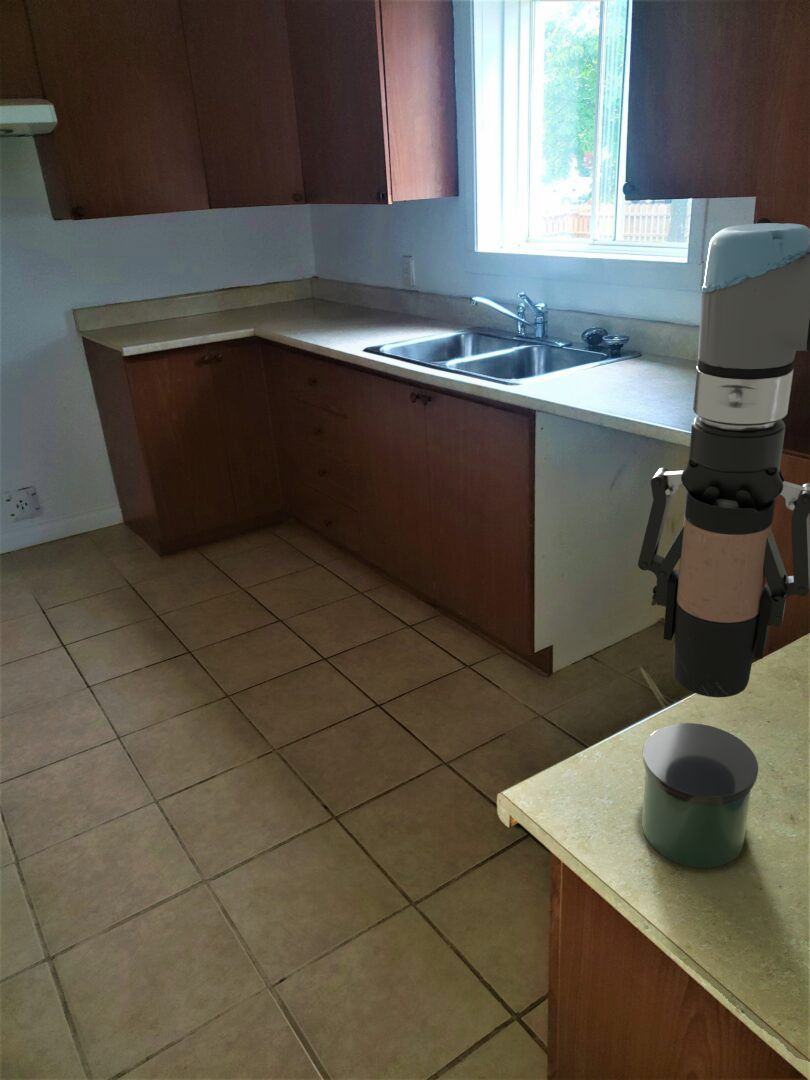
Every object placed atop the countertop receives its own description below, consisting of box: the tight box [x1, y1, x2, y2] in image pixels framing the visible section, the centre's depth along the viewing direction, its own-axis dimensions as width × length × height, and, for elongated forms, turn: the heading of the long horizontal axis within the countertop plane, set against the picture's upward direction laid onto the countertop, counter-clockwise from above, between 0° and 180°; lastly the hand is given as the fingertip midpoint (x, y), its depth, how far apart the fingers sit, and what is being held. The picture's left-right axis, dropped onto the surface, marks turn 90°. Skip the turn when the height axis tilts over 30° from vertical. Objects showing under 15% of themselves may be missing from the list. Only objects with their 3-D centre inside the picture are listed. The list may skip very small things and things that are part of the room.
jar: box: [641, 722, 759, 869], centre depth 83 cm, size 11×11×10 cm
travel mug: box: [672, 490, 776, 698], centre depth 77 cm, size 8×8×20 cm
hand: (714, 641), depth 80 cm, fingers closed on travel mug, 8 cm apart
